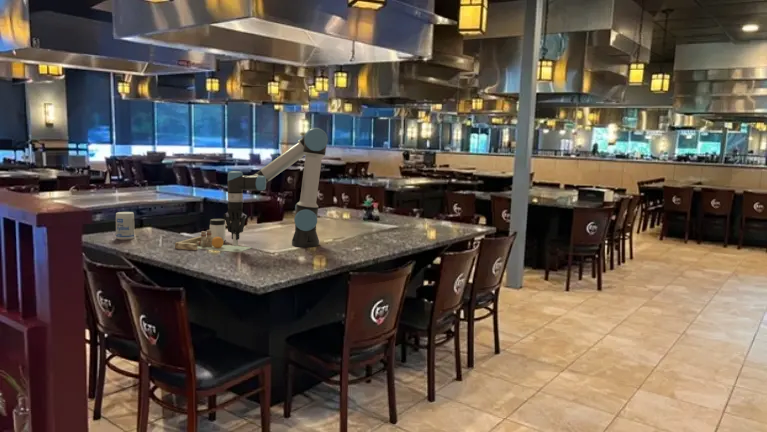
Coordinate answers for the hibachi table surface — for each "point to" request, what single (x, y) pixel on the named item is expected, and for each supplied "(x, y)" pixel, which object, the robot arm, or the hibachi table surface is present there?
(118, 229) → the supplement tub
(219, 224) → the jar
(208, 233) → the pin rear right
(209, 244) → the pin front
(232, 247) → the pale green board
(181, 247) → the backstop
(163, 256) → the hibachi table surface
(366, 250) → the hibachi table surface
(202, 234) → the pin rear left
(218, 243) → the ball
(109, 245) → the hibachi table surface
